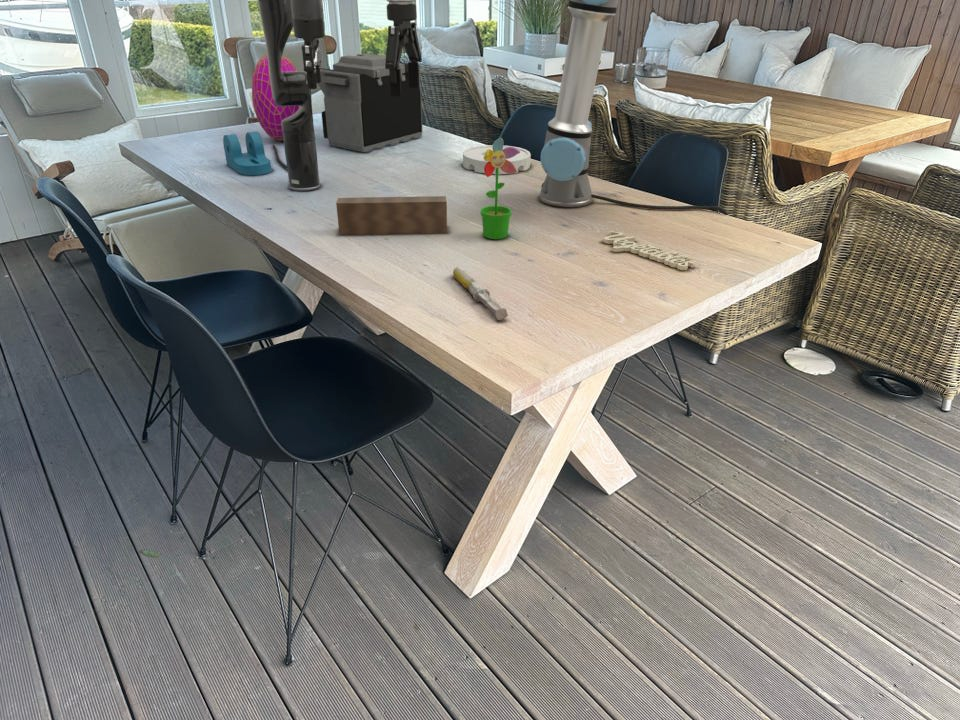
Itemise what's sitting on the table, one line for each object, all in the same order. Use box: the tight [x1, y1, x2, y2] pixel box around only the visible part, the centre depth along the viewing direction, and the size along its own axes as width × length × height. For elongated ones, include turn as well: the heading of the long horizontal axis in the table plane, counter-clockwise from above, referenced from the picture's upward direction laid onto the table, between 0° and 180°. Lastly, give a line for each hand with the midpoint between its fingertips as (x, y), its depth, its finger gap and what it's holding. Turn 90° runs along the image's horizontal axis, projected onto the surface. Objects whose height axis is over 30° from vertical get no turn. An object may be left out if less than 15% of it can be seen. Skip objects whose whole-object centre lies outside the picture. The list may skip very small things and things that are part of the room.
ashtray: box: [462, 144, 532, 175], centre depth 235 cm, size 23×23×4 cm
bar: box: [336, 195, 448, 236], centre depth 177 cm, size 28×5×8 cm, turn 95°
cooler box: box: [317, 53, 423, 153], centre depth 257 cm, size 37×22×30 cm, turn 144°
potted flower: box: [480, 137, 520, 240], centre depth 170 cm, size 9×8×25 cm
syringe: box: [452, 266, 509, 321], centre depth 145 cm, size 25×4×3 cm, turn 21°
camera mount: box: [222, 131, 272, 176], centre depth 226 cm, size 18×10×10 cm, turn 35°
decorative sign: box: [603, 230, 695, 271], centre depth 167 cm, size 26×1×10 cm
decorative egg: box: [251, 55, 299, 142], centre depth 257 cm, size 19×19×30 cm
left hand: (314, 85), depth 179 cm, fingers open, 8 cm apart
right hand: (405, 91), depth 185 cm, fingers open, 13 cm apart
